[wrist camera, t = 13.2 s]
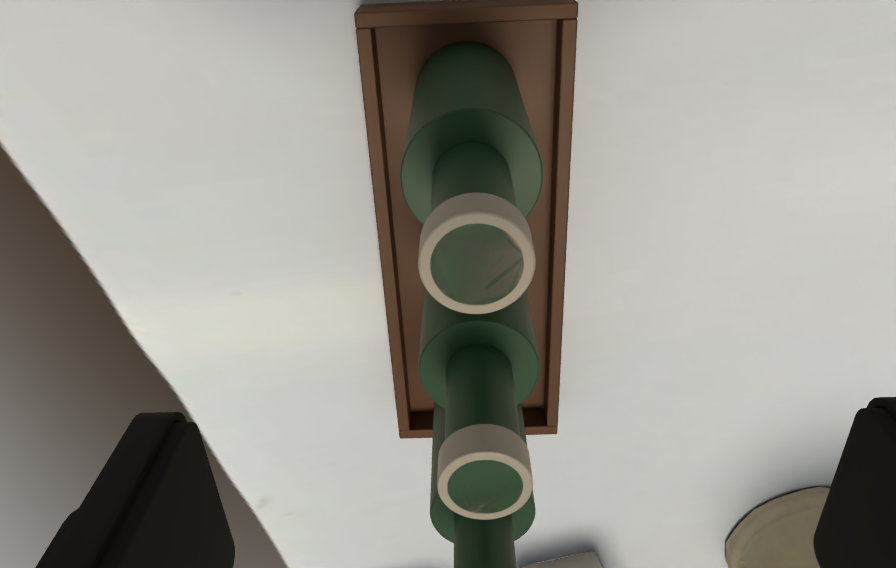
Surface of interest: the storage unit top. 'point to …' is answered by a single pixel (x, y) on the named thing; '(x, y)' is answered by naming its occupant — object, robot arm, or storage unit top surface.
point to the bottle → (471, 179)
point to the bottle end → (475, 540)
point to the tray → (387, 118)
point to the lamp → (779, 533)
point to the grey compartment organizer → (570, 562)
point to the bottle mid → (480, 403)
